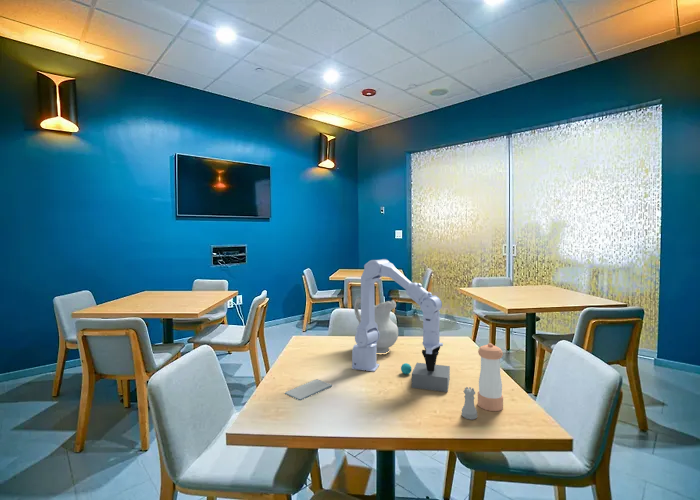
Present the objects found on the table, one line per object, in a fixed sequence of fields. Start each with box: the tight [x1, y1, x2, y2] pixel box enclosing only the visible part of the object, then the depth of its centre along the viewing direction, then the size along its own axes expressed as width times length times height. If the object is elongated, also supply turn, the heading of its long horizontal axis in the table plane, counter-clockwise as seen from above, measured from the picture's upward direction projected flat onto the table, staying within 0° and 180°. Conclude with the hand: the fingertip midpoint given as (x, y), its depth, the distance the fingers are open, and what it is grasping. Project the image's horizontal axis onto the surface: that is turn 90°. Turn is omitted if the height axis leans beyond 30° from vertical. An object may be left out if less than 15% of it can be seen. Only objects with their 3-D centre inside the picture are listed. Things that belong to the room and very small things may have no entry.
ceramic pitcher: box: [353, 296, 399, 353], centre depth 164 cm, size 22×20×25 cm
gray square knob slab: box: [411, 362, 451, 393], centre depth 125 cm, size 12×12×8 cm
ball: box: [400, 362, 413, 375], centre depth 134 cm, size 4×4×4 cm
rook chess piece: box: [460, 386, 478, 420], centre depth 101 cm, size 4×4×8 cm
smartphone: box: [284, 378, 332, 401], centre depth 120 cm, size 8×1×15 cm
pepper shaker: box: [477, 342, 504, 412], centre depth 107 cm, size 7×7×19 cm
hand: (431, 368), depth 125 cm, fingers open, 4 cm apart
